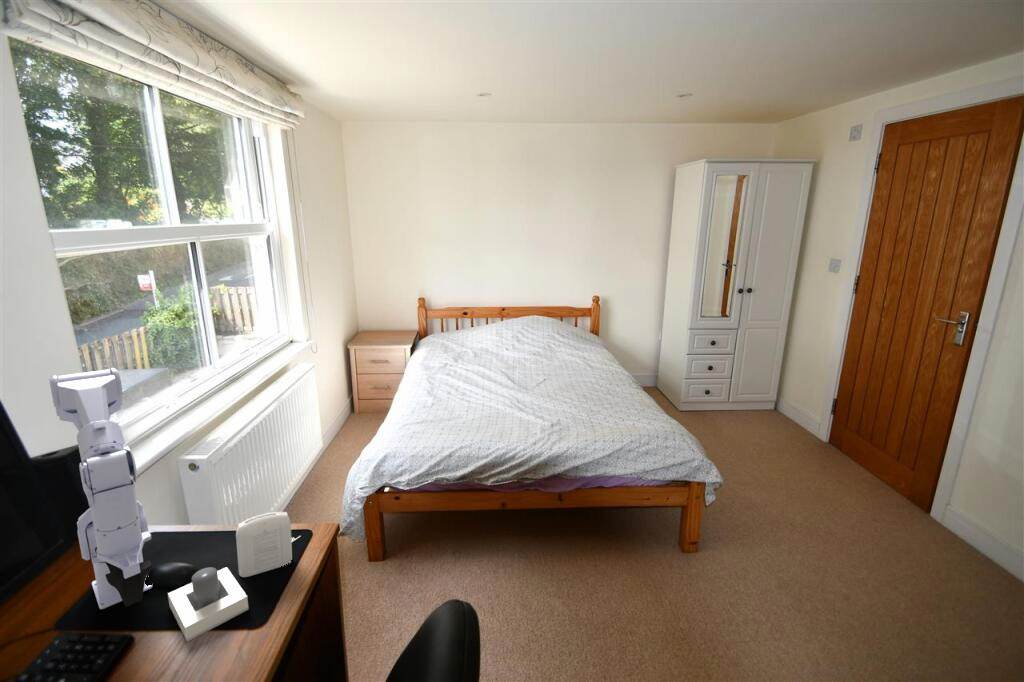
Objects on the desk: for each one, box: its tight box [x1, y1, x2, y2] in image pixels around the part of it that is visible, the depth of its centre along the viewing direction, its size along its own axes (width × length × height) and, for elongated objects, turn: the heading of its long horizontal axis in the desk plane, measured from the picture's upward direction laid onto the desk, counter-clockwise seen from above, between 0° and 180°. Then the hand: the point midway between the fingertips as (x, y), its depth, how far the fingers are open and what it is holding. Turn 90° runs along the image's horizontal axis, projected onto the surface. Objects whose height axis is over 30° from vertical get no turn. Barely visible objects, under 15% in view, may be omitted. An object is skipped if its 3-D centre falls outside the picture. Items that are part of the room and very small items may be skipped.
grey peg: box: [191, 567, 221, 611], centre depth 87 cm, size 4×4×7 cm
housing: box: [167, 567, 249, 642], centre depth 88 cm, size 11×10×3 cm
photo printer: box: [235, 511, 293, 578], centre depth 98 cm, size 10×4×12 cm, turn 124°
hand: (128, 590), depth 80 cm, fingers open, 7 cm apart
